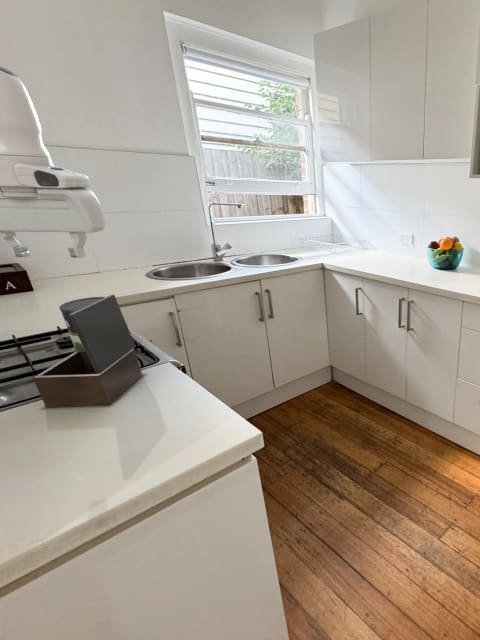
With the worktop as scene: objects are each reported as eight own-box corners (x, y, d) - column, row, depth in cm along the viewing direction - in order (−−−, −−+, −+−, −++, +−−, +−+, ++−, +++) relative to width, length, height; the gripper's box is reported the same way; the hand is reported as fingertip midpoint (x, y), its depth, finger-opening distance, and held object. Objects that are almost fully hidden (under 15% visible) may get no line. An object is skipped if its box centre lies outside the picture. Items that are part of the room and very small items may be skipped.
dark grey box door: (67, 315, 69) (72, 314, 69) (110, 294, 80) (114, 294, 80) (96, 373, 74) (100, 373, 74) (132, 347, 85) (136, 346, 85)
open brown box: (45, 407, 75) (32, 377, 72) (87, 377, 87) (77, 350, 84) (109, 405, 77) (99, 375, 74) (142, 375, 88) (134, 348, 85)
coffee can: (73, 368, 90) (52, 312, 84) (84, 351, 98) (66, 299, 93) (126, 360, 94) (109, 306, 89) (132, 345, 103) (117, 294, 97)
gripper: (-68, 172, 60) (-30, 259, 66) (74, 177, 63) (99, 260, 68) (-30, 172, 66) (2, 253, 72) (98, 177, 69) (119, 254, 74)
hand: (50, 256), depth 70 cm, fingers open, 8 cm apart
